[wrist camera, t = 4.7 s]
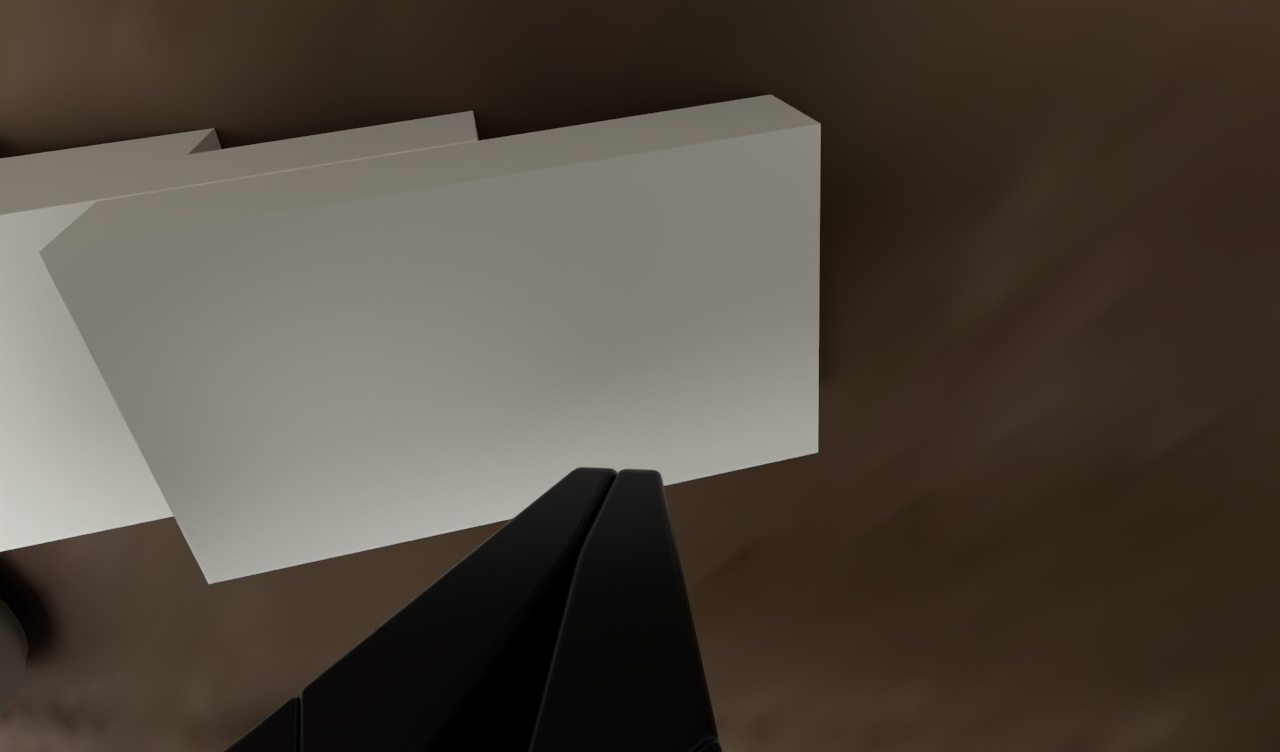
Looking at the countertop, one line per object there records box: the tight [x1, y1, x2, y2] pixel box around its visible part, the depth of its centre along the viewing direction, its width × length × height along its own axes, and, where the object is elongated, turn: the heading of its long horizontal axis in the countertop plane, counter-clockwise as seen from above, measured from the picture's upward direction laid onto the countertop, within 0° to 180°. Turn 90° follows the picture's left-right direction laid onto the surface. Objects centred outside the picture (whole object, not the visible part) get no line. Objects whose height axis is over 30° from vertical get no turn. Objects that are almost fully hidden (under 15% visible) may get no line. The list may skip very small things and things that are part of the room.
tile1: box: [39, 95, 821, 584], centre depth 12 cm, size 2×5×9 cm
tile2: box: [0, 111, 479, 552], centre depth 13 cm, size 2×5×9 cm
